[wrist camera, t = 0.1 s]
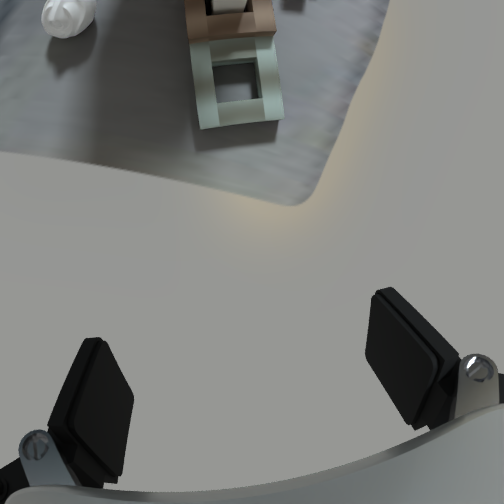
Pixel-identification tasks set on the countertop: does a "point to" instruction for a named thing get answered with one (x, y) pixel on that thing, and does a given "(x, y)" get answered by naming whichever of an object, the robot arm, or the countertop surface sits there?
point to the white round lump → (67, 16)
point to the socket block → (234, 61)
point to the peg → (227, 6)
